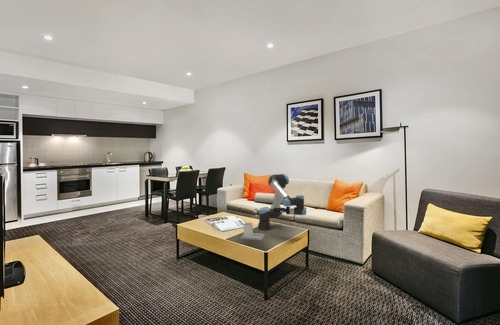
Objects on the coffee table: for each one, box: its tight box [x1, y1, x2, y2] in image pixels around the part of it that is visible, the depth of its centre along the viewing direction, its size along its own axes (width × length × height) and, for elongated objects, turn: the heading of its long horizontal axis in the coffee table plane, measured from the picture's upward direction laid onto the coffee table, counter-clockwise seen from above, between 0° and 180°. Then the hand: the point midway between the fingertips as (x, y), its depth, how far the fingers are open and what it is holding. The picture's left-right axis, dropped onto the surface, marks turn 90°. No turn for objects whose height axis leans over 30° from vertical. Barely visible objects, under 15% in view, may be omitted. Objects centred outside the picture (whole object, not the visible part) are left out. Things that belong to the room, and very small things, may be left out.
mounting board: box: [239, 232, 266, 242], centre depth 262 cm, size 16×22×2 cm
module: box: [243, 222, 254, 236], centre depth 263 cm, size 6×8×13 cm
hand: (267, 209), depth 262 cm, fingers closed
